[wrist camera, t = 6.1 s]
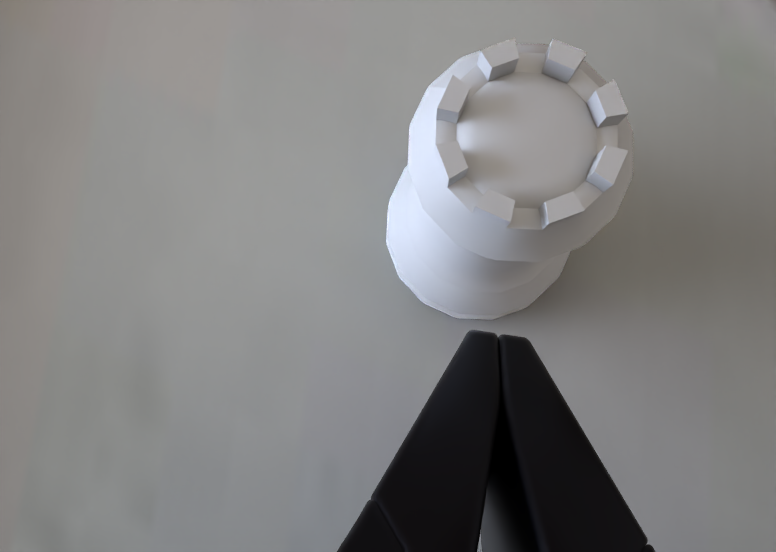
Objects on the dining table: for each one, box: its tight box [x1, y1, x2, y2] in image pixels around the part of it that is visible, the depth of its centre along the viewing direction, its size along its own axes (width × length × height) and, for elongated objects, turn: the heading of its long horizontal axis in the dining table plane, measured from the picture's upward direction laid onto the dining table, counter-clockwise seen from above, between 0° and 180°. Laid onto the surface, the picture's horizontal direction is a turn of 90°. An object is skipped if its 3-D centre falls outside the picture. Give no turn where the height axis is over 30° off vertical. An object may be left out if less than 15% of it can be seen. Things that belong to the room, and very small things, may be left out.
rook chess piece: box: [386, 37, 633, 320], centre depth 13 cm, size 4×4×8 cm
